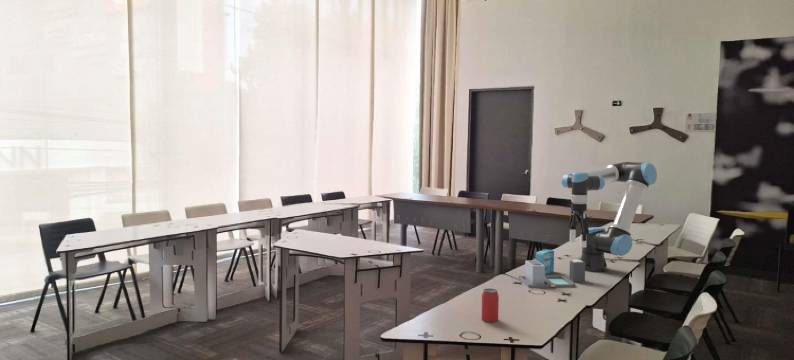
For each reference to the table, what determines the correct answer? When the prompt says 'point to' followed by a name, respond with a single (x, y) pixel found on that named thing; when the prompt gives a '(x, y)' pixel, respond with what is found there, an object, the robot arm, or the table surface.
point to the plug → (577, 271)
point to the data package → (546, 259)
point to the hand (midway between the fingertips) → (577, 244)
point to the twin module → (534, 272)
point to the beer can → (490, 305)
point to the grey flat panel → (550, 282)
